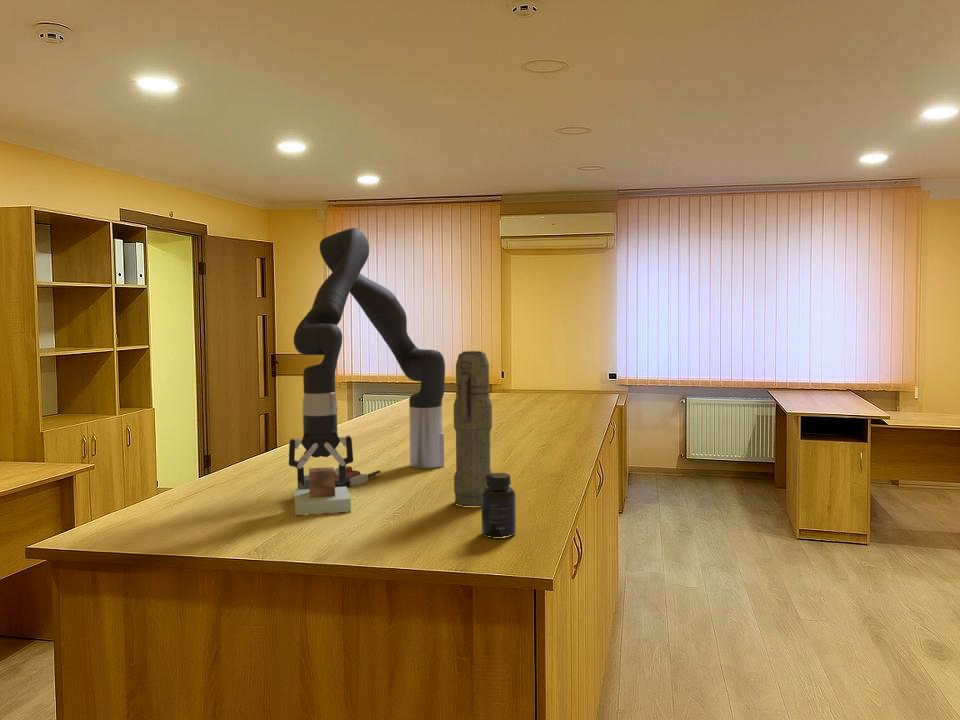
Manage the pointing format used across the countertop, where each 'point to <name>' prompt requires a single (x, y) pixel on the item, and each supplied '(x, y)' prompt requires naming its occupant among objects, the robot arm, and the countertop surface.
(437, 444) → the robot arm
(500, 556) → the countertop surface
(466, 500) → the thermos
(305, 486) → the charcoal block
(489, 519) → the supplement bottle
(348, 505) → the pedestal
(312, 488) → the walnut cube
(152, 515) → the countertop surface
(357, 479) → the walkie-talkie
